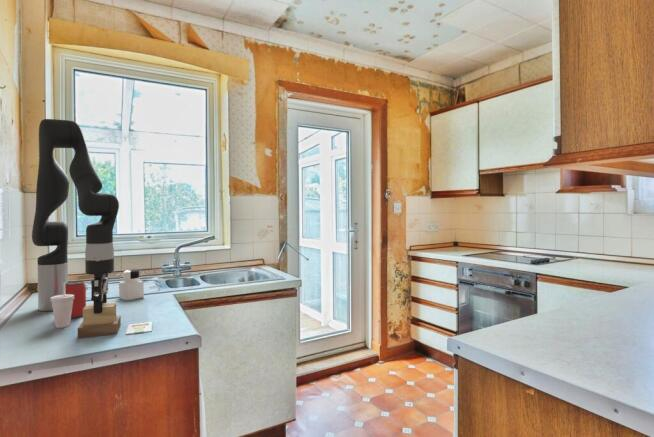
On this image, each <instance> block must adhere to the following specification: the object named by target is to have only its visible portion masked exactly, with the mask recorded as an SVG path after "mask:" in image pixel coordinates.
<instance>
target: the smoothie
mask: <svg viewBox="0 0 654 437" xmlns="http://www.w3.org/2000/svg"><path fill="white" fill-rule="evenodd" d="M73 299H74V295H73V294H66V292H65V283H63V295H57V296H53V297H51V298H50V301H52V307H53V310H52V312H53V318H54V322H55V323H54V324H55V328H58V329H61V328H62V329H63V328H68V327H70V326H71V322H72V321H71V319H72V318H71V313H72V305H73Z"/></svg>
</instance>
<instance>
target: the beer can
mask: <svg viewBox="0 0 654 437" xmlns="http://www.w3.org/2000/svg"><path fill="white" fill-rule="evenodd" d="M86 288H87V287H86V285H85V281H82V280H76V281H68V282H67V283H65V292H66V294H73V295H74V299H73V305H72V313H71V319H76V318H81V317H83V308H84V307H85V306H86V305H87V298H86V297H87V292H86V290H87V289H86Z"/></svg>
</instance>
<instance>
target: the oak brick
mask: <svg viewBox="0 0 654 437" xmlns="http://www.w3.org/2000/svg"><path fill="white" fill-rule="evenodd" d="M102 304H103V311H102V313H100V314H94V303H86V306H85V307H84V308H83V316H82V322H83V326H86V325H96V324H105V323H114V321H115V319H116V316H117V302H116V301H112V302H111V301H110V302H107V303H102Z"/></svg>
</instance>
